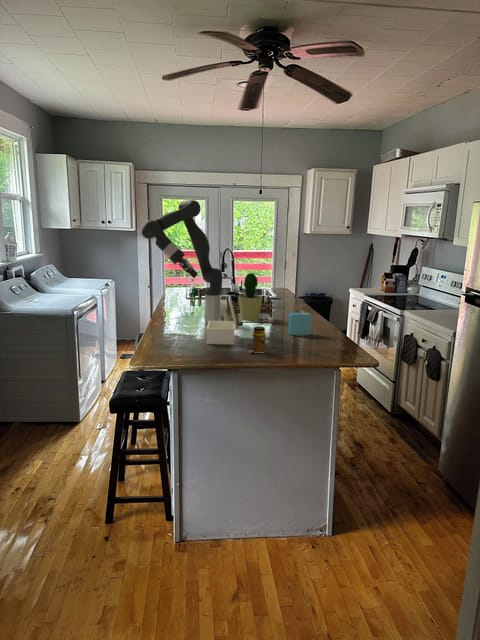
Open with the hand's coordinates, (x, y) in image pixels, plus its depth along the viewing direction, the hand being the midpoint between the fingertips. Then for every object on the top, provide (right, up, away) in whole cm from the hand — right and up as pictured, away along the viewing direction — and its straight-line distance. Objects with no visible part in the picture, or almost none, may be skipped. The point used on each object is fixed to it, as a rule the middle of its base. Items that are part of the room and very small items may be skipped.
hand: (196, 276), depth 233 cm
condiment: (+31, -38, -19) cm, 53 cm away
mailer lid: (+19, -18, -1) cm, 26 cm away
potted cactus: (+29, -22, +53) cm, 65 cm away
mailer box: (+13, -33, +2) cm, 36 cm away
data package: (+56, -31, +16) cm, 66 cm away
